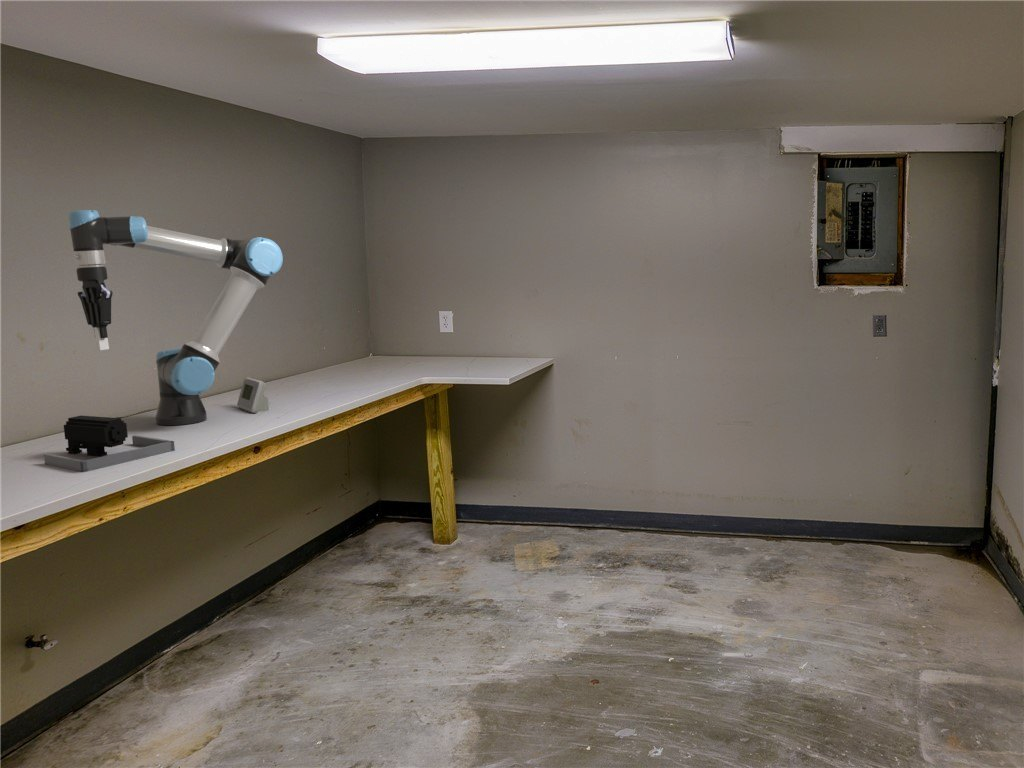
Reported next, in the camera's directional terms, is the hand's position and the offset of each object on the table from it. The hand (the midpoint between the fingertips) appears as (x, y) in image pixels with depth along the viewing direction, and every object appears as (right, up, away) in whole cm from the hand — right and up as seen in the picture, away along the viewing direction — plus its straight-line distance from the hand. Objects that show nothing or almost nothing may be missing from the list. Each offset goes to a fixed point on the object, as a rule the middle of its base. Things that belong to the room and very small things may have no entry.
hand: (103, 349), depth 230 cm
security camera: (+6, -29, -17) cm, 34 cm away
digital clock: (+28, -19, +45) cm, 56 cm away
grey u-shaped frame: (+12, -29, -19) cm, 37 cm away
